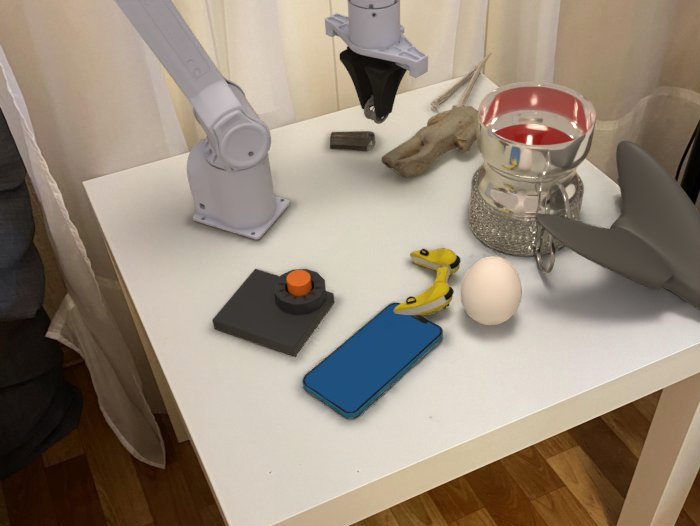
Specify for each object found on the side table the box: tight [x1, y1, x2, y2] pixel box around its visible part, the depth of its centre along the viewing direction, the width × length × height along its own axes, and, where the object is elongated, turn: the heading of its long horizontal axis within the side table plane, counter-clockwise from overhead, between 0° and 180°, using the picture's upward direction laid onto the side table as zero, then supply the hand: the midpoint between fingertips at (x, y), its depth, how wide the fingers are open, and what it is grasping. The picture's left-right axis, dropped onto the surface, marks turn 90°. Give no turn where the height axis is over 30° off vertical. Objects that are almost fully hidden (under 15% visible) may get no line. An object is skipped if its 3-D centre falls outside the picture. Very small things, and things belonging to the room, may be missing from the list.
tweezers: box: [430, 51, 492, 110], centre depth 122 cm, size 17×5×2 cm, turn 154°
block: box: [329, 130, 376, 152], centre depth 113 cm, size 4×6×2 cm, turn 88°
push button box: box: [211, 268, 335, 357], centre depth 92 cm, size 10×10×3 cm
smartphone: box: [301, 302, 444, 419], centre depth 87 cm, size 7×1×15 cm
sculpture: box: [381, 105, 478, 178], centre depth 110 cm, size 7×5×15 cm
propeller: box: [536, 140, 700, 311], centre depth 90 cm, size 23×25×9 cm
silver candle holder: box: [468, 80, 597, 275], centre depth 95 cm, size 13×18×15 cm
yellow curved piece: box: [393, 247, 462, 316], centre depth 94 cm, size 10×4×10 cm
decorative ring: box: [363, 95, 390, 125], centre depth 102 cm, size 3×2×3 cm
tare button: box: [286, 269, 312, 296], centre depth 91 cm, size 3×3×2 cm
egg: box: [460, 255, 523, 326], centre depth 89 cm, size 6×6×8 cm
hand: (376, 110), depth 102 cm, fingers closed on decorative ring, 2 cm apart
